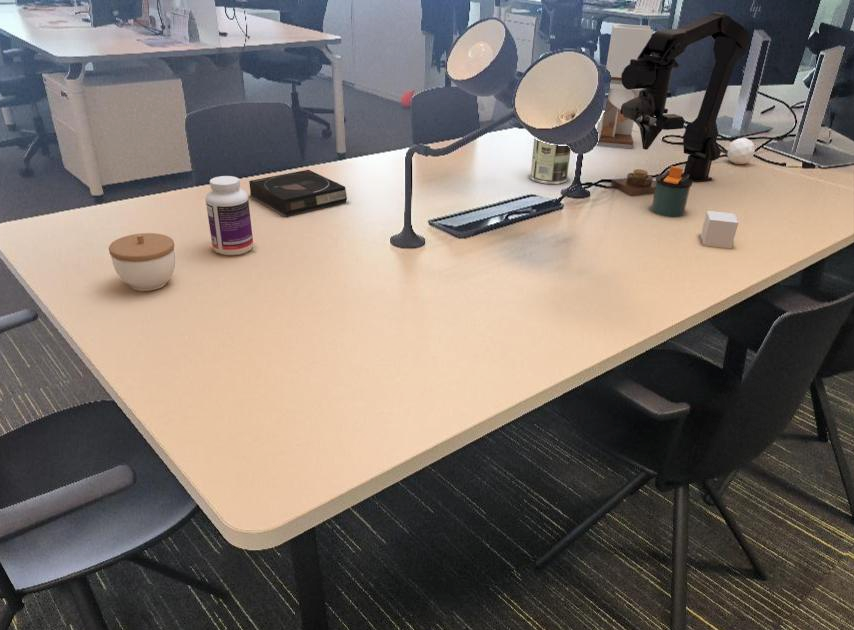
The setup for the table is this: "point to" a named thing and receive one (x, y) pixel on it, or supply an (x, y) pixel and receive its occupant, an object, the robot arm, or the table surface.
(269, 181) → the portable cd player
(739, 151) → the geometric ball
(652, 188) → the block
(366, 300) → the table surface
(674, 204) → the tumbler
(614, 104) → the white pillar on base
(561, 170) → the coffee can
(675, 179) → the slider
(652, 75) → the robot arm
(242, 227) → the pill bottle
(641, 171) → the call button
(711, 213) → the white cube
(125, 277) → the trinket box
